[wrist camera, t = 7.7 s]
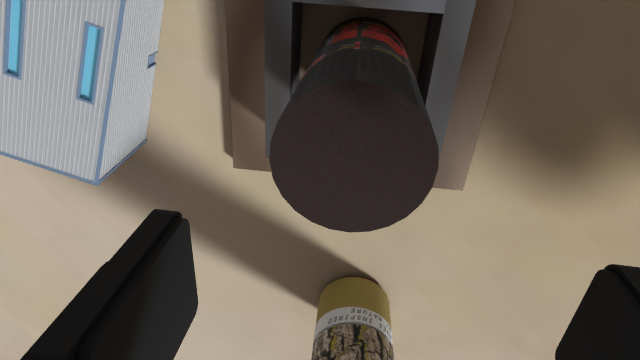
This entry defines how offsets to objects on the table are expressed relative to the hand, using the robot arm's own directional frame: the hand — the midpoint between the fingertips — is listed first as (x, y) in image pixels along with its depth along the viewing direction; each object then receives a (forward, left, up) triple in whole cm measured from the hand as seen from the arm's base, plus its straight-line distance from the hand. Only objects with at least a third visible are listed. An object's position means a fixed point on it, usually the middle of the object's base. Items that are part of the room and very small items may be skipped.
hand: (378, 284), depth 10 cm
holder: (+1, 0, -22) cm, 22 cm away
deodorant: (0, 0, -21) cm, 21 cm away
